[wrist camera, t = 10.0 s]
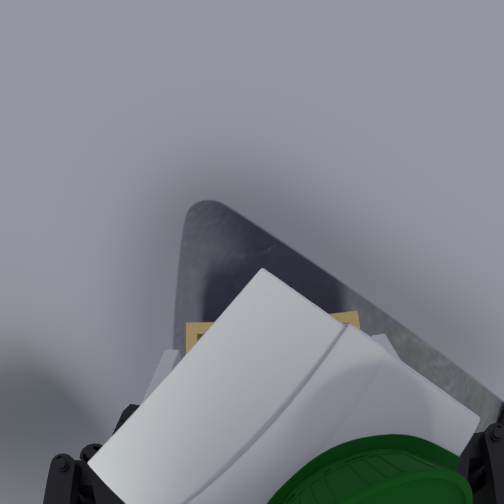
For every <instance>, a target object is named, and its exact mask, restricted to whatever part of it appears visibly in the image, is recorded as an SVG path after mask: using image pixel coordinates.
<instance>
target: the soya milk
mask: <svg viewBox="0 0 504 504" xmlns="http://www.w3.org/2000/svg"><path fill="white" fill-rule="evenodd" d="M479 421H480V418H479V416H478V415H476V414H475V413H473V412H472V411H471V410H469V409H468V408H466V407H465V406H464V405H462V404H461V403H459V402H458V401H457V400H455V399H454V398H453V397H451V396H450V395H448V394H447V393H446V392H444V391H443V390H441V389H440V388H439V387H437V386H436V385H434V384H433V383H432V382H430V381H429V380H427V379H426V378H425V377H423V376H422V375H420V374H419V373H418V372H416V371H415V370H413V369H412V368H411V367H409V366H408V365H406V364H405V363H404V362H402V361H401V360H399V359H398V358H396V357H395V356H394V355H392V354H391V353H389V352H388V351H387V349H386V348H385V347H384V346H383V345H381V344H380V343H378V342H377V341H376V340H374V339H373V338H372V337H370V336H369V335H367V334H366V333H364V332H363V331H361V330H360V329H359V328H357V327H355V326H354V325H352V324H342V323H341V322H339V321H338V320H336V319H335V318H334V317H332V316H331V315H329V314H328V313H327V312H325V311H324V310H322V309H321V308H319V307H318V306H317V305H315V304H314V303H312V302H311V301H309V300H308V299H307V298H305V297H304V296H302V295H301V294H300V293H298V292H297V291H295V290H294V289H292V288H291V287H290V286H288V285H287V284H285V283H284V282H283V281H281V280H280V279H278V278H277V277H275V276H274V275H273V274H271V273H270V272H268V271H267V270H265V269H264V268H261V269H260V270H259V271H258V272H257V273H256V275H255V276H254V277H253V278H252V279H251V280H250V282H249V283H248V284H247V285H246V286H245V287H244V289H243V290H242V291H241V292H240V293H239V294H238V296H237V297H236V298H235V299H234V300H233V301H232V303H231V304H230V305H229V306H228V307H227V308H226V309H225V311H224V312H223V313H222V314H221V315H220V316H219V318H218V319H217V320H216V321H215V322H214V323H213V324H212V326H211V327H210V328H209V329H208V330H207V331H206V332H205V334H204V335H203V336H202V337H201V338H200V339H199V340H198V342H197V343H196V344H195V345H194V346H193V347H192V348H191V349H190V351H189V352H188V353H187V354H186V355H185V356H184V357H183V359H182V360H181V361H180V362H179V363H178V364H177V365H176V366H175V367H174V369H173V370H172V371H171V372H170V373H169V374H168V375H167V376H166V378H165V379H164V380H163V381H162V382H161V383H160V384H159V385H158V386H157V388H156V389H155V390H154V391H153V392H152V393H151V394H150V395H149V396H148V397H147V399H146V400H145V401H144V402H143V403H142V404H141V405H140V406H139V407H138V408H137V410H136V411H135V412H134V413H133V414H132V415H131V416H130V417H129V418H128V419H127V420H126V422H125V423H124V424H123V425H122V426H121V427H120V428H119V429H118V430H117V431H116V432H115V433H114V434H113V436H112V437H111V438H110V439H109V440H108V441H107V442H106V443H105V444H104V445H103V446H102V447H101V448H100V449H99V451H98V452H97V453H96V454H95V455H94V456H93V457H92V458H91V459H90V460H89V461H88V465H89V466H90V467H91V468H92V469H93V471H94V472H95V473H96V474H97V475H98V476H99V477H100V478H101V480H102V481H103V482H104V483H105V484H106V485H107V486H108V487H109V488H110V489H111V490H112V491H113V492H114V493H115V494H116V495H117V496H118V497H119V498H120V499H121V500H122V501H123V502H125V503H126V504H473V494H472V490H471V487H470V485H469V483H468V481H467V480H466V479H465V478H464V477H463V476H462V475H461V474H459V473H457V472H456V470H455V468H456V467H457V465H458V464H459V462H460V461H461V459H462V458H461V457H459V456H460V455H461V453H462V452H463V450H464V448H465V447H466V445H467V444H468V442H469V440H470V439H471V437H472V435H473V433H474V432H475V430H476V428H477V426H478V423H479Z"/></svg>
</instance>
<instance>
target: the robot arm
mask: <svg viewBox="0 0 504 504" xmlns="http://www.w3.org/2000/svg"><path fill="white" fill-rule="evenodd" d="M371 337H372V338H373V339H374V340H376V341H377V342H378V343H380V344H381V345H383V346H384V347H385V348H386V349H387V351H388V352H389V353H391V354H392V355H394V356H395V357H396V358H398V359H399V360H400V358H399V357H398V355H397V353H396V352H395V350H394V348H393V347H392V345H391V343H390V342H389V340H388V339H387V337H386V335H385V334H380V335H374V336H371ZM181 360H182V358H181V355H180V351H179V350H165V351H164V353H163V356H162V358H161V360H160V362H159V365H158V367H157V369H156V371H155V374H154V376H153V378H152V380H151V383H150V385H149V387H148V389H147V392H146V394H145V397H144V399H143V401H142V403H143V402H144V401H145V400H146V399H147V397H148V396H149V395H150V394H151V393H152V392H153V391H154V390H155V389H156V388H157V386H158V385H159V384H160V383H161V382H162V381H163V380H164V379H165V378H166V376H167V375H168V374H169V373H170V372H171V371H172V370H173V369H174V367H175V366H176V365H177V364H178V363H179V362H180V361H181ZM142 403H141V404H142ZM139 406H140V405H134V404H130V405H129V406H128V407H127V408H126V409H125V410H124V411H123V413H122V415H121V417H120V419H119V421H118V424H117V426H116V428H115V430H114V432H113V434H114V433H115V432H116V431H117V430H118V429H119V428H120V427H121V426H122V425H123V424H124V423H125V422H126V420H127V419H128V418H129V417H130V416H131V415H132V414H133V413H134V412H135V411H136V410H137V408H138V407H139ZM112 436H113V435H112ZM102 446H103V445H100V444H90V445H87V446H86V447H85V448H83V450H82V451H81V454H80V459H81V460H74V459H73V458H72V457H71V456H69V455H67V454H59V455H56V456H55V457H54V458H53V459H52V462H51V465H50V469H49V474H48V479H47V484H46V490H45V495H44V502H43V504H126V503H125V502H123V501H122V500H121V499H120V498H119V497H118V496H117V495H116V494H115V493H114V492H113V491H112V490H111V489H110V488H109V487H108V486H107V485H106V484H105V483H104V482H103V481H102V480H101V478H100V477H99V476H98V475H97V474H96V473H95V472H94V471H93V469H92V468H91V467H90V466H89V465H88V461H89V460H90V459H91V458H92V457H93V456H94V455H95V454H96V453H97V452H98V451H99V449H100V448H101V447H102ZM459 457H461V458H462V459H461V461H460V462H459V464H458V465H457V467H456V468H455V470H456V472H457V473H459V474H461V475H462V476H463V477H464V478H465V479H466V480H467V481H468V483H469V485H470V487H471V490H472V494H473V504H504V411H503V413H502V415H501V418H500V420H499V423H494V424H491V425H490V426H489V427H488V428H487V429H486V430H485V432H479V433H473V435H472V437H471V439H470V440H469V442H468V444H467V445H466V447H465V448H464V450H463V452H462V453H461V455H460V456H459Z"/></svg>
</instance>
